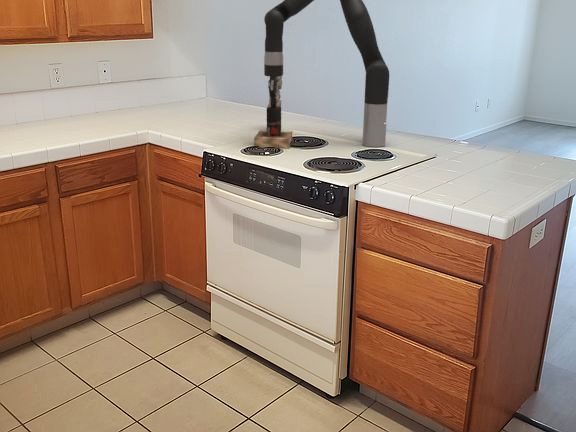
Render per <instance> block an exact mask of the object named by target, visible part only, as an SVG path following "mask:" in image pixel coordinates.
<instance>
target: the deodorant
mask: <svg viewBox="0 0 576 432" xmlns="http://www.w3.org/2000/svg"><path fill="white" fill-rule="evenodd" d="M266 131H267V136H276V137H281V132H282V106H281V107H276V108H271V107H267V106H266Z"/></svg>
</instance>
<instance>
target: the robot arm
mask: <svg viewBox="0 0 576 432" xmlns="http://www.w3.org/2000/svg"><path fill="white" fill-rule="evenodd" d="M314 1H315V0H283V1H282V2H280V3H278V4H277V5H276V6H274V7H273V8H271V9H269V10H268V11H267V12H266V13H265V15H264V18H263V20H264V21H263V22H264V24H265V37H264V38H265V39H264V56H263V57H264V59H263V61H264V63H263V67H264V68H263V69H264V70H263V71H264V73H263V75H264V76H265V77H269V80H268V82H267V84H268V85H269V87H268V86H267V88H268V93H269V95H268V96H269V97H270V98H271V108H276V106H277V95H278V85H279V80H278V78H277V76H278V77H279V76H282V77H283V75H284V54H283V51H284V50H283V49H284V47H283V45H284V44H283V36H284V24H285V23H286V22H287V21H288V20H289V19H290V18H292V17H294V16H296V15H298V14H299V13H300V12H301V11H303V10H304V9H305V8H307V7H308V6H309V5H310V4H311V3H313V2H314ZM339 2H340V6H341V9H342V13H343V16H344V19H345V23H346V25H347V28H348V31H349V33H350V36H351V38H352V40H353V42H354V44H355V45H356V47H357V49H358V51H359V53H360V56H361V58H362V61H363V66H364V69H365V70H364V71H365V79H364V80H365V83H364V84H365V85H364V105H363V123H362V124H363V127H362V141H361V142H362V145H363V146H366V147H370V148H371V147H372V148H379V147H386V141H387V140H386V138H387V137H386V136H387V115H388V113H387V112H388V102H389V101H388V99H389V86H390V71H389V67H388V65H387V64H386V62H385V60H384V57H383V55H382V53H381V52H380V49H379V45H378V42H377V36H376V32H375V28H374V24H373V22H372V19H371V16H370V12H369V11H368V9H367V7H366V4H365V3H364V0H339Z"/></svg>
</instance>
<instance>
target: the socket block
mask: <svg viewBox="0 0 576 432" xmlns="http://www.w3.org/2000/svg"><path fill="white" fill-rule="evenodd" d="M291 141H292V142H293V131H281V137H276V136H267V130H259V131H258V132H257V134H255V136H254V138H253V142H254V143H253V147H254V146H259V147H276V148H275V149H278V148H282V150H285V149H286V150H289V149H290V147H291V145H290V143H291ZM291 144H292V143H291ZM289 146H290V147H289Z"/></svg>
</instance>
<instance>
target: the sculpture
mask: <svg viewBox="0 0 576 432" xmlns="http://www.w3.org/2000/svg"><path fill="white" fill-rule="evenodd" d="M277 78H278V80H279V85H278V95H277V106H276V107H281V108H282V100H280V99H281V92H280V90H281V89H282V86H283V80H282V79H283V76H279V77H278V76H277ZM268 87H269V85H268V86H267V88H268ZM267 107H271V98H270V96H269V100H268V105H267V106H266V108H267Z"/></svg>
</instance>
